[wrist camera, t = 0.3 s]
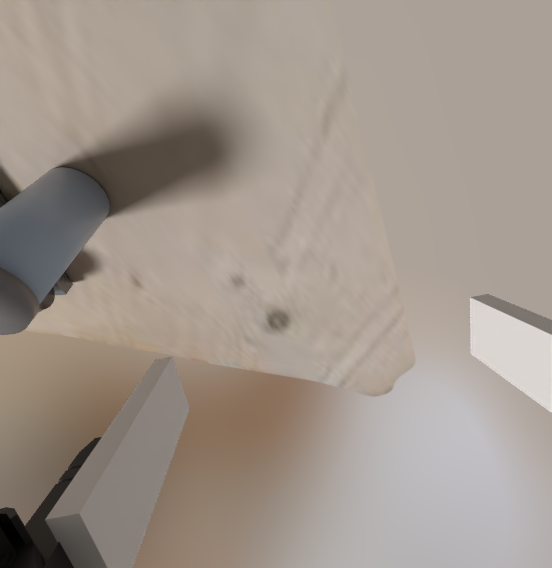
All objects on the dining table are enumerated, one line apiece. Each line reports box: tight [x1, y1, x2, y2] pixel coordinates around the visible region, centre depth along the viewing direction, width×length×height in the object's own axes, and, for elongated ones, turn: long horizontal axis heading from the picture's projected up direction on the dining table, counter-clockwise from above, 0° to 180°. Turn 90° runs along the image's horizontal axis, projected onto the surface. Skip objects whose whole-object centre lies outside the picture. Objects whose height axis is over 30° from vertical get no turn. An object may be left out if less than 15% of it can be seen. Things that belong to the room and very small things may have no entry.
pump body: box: [0, 167, 110, 335], centre depth 20 cm, size 5×5×12 cm
